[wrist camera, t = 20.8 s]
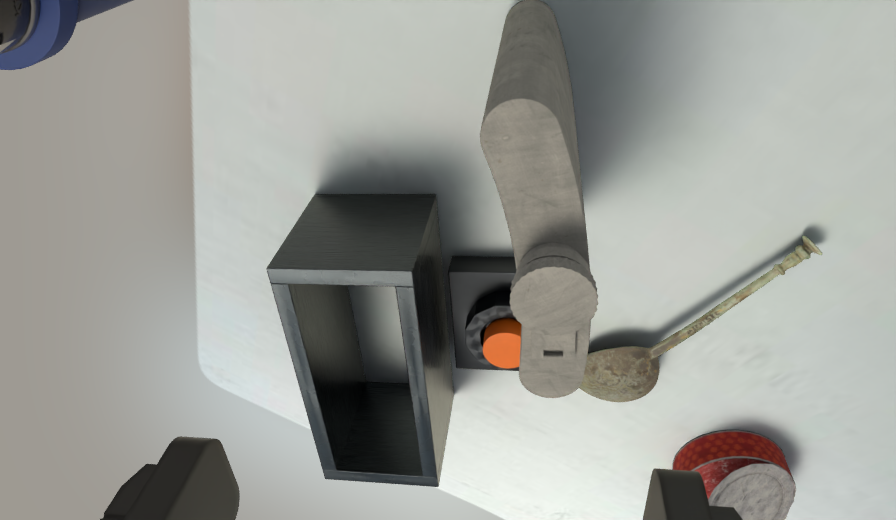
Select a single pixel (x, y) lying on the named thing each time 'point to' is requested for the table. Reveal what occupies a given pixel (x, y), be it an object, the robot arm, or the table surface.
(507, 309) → the control panel
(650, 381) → the soupspoon
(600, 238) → the table surface
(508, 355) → the button
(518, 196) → the hip flask
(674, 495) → the robot arm
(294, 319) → the black storage bin
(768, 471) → the canned food
